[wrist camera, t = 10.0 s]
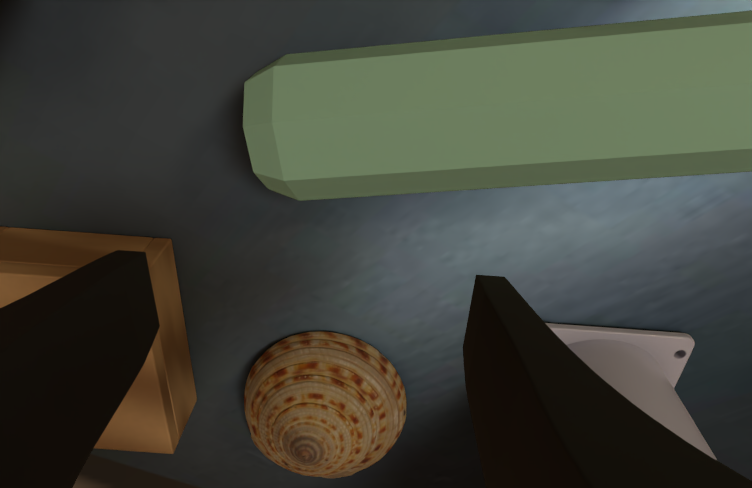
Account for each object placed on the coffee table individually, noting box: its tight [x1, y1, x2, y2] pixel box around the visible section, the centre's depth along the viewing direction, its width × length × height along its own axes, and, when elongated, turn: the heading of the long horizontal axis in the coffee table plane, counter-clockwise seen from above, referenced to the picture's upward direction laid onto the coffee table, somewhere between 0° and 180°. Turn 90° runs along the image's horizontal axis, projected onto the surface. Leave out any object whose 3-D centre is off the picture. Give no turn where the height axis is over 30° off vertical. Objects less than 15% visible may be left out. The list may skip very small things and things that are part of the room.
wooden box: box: [0, 226, 197, 454], centre depth 24 cm, size 10×8×4 cm
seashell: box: [244, 331, 406, 478], centre depth 27 cm, size 8×6×8 cm
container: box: [243, 11, 752, 201], centre depth 17 cm, size 6×6×25 cm
